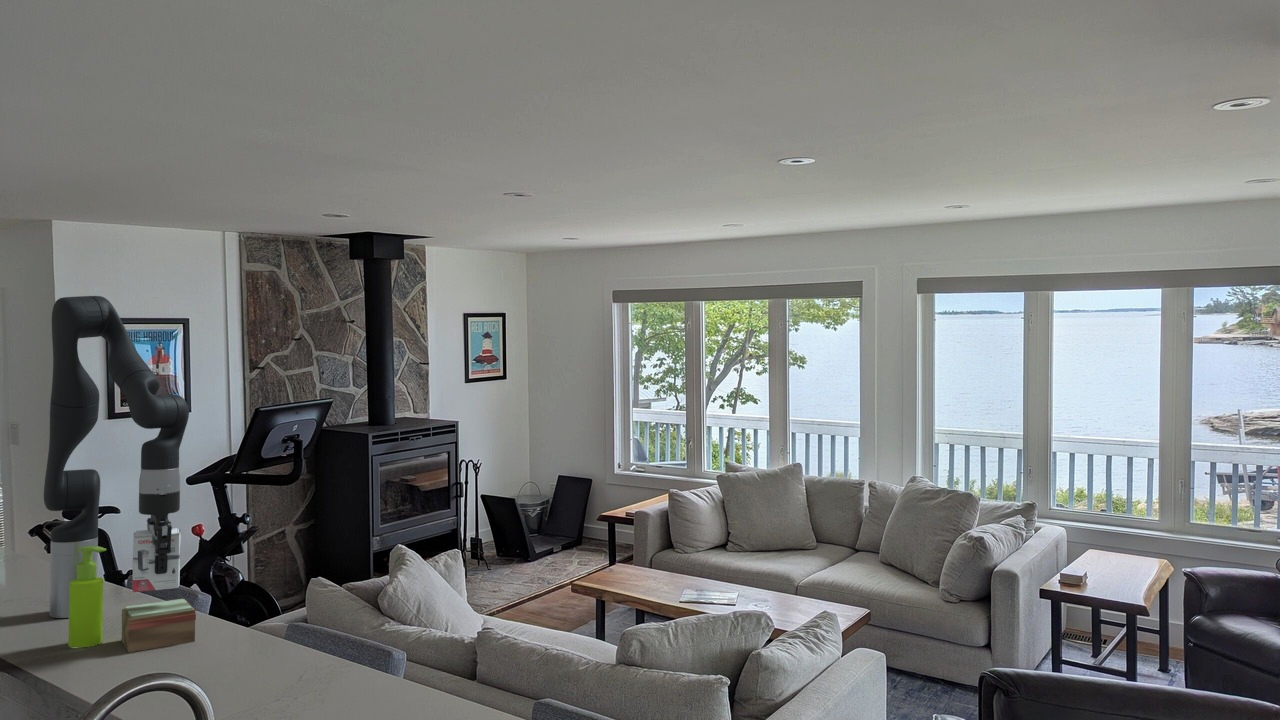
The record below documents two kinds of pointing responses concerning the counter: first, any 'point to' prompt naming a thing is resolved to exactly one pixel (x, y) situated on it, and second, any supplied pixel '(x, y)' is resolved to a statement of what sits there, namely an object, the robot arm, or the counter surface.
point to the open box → (158, 624)
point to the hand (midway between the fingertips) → (158, 570)
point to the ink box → (145, 563)
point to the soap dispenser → (86, 602)
